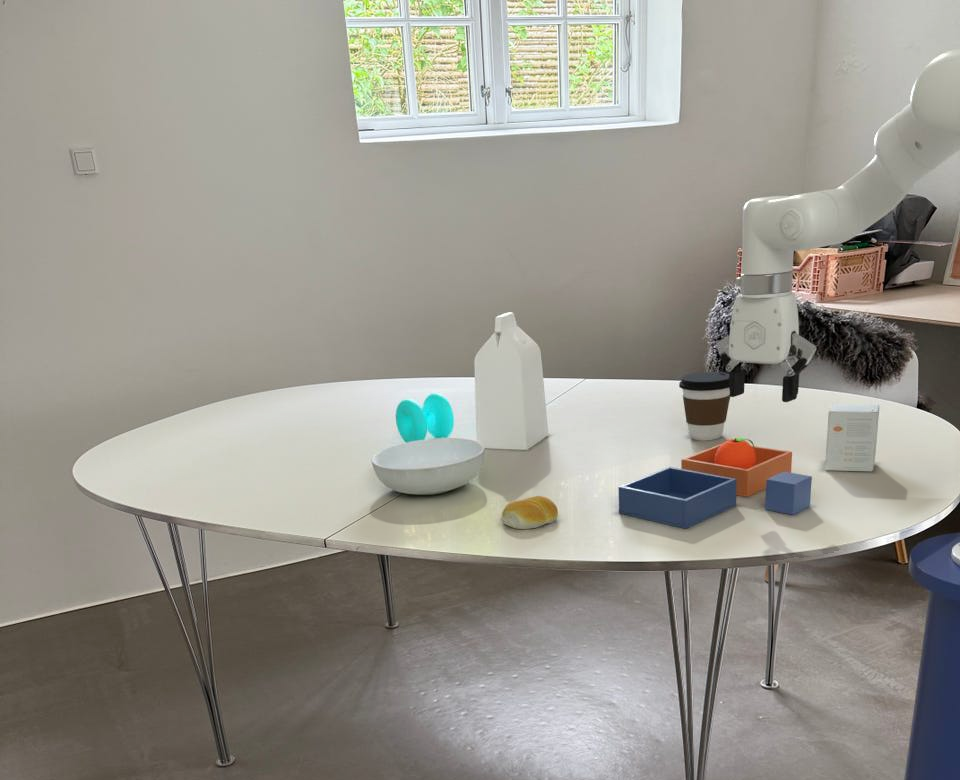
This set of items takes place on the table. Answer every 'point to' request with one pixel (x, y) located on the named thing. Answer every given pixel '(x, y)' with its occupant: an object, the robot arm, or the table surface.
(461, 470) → the serving bowl
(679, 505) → the blue bin
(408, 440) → the cyan plastic rounded piece
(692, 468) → the terracotta bin
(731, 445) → the clementine
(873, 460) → the small box
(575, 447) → the table surface
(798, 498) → the blue block
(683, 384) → the coffee cup
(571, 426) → the table surface
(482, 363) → the milk
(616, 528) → the table surface
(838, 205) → the robot arm
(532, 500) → the bread roll
